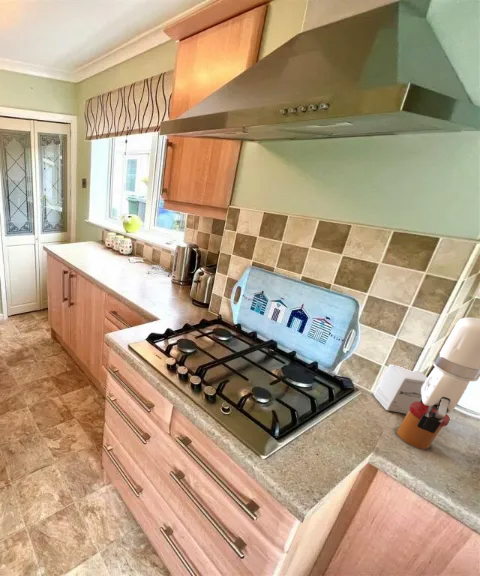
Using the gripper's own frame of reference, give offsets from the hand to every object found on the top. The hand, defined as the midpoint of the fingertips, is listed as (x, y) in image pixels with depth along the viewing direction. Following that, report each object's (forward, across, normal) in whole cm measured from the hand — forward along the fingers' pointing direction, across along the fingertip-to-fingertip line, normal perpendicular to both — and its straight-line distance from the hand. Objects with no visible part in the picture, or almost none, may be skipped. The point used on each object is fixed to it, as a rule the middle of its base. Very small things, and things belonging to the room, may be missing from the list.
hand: (424, 420), depth 82 cm
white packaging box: (+7, -14, -4) cm, 16 cm away
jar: (+7, 0, 0) cm, 7 cm away
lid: (-3, 0, 0) cm, 3 cm away
